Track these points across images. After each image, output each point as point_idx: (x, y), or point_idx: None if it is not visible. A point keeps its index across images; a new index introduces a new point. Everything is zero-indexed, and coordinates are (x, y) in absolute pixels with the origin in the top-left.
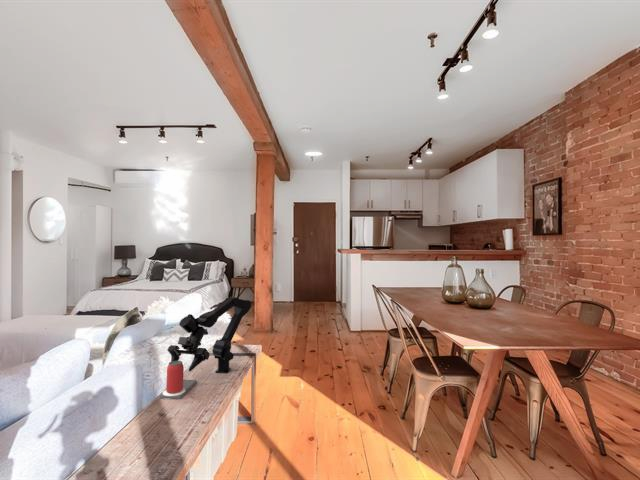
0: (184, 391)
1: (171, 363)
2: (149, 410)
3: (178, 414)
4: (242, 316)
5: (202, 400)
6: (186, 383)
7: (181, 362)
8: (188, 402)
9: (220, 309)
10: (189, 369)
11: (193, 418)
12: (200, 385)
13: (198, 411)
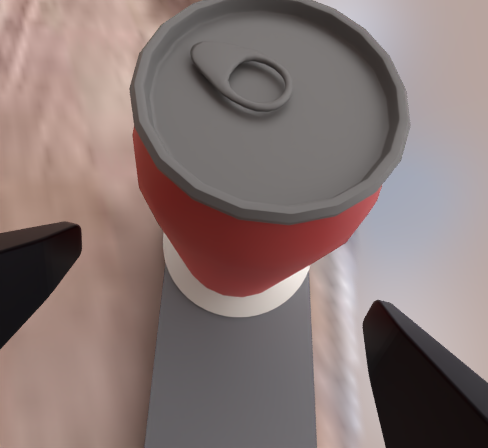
0: (164, 234)
1: (351, 99)
2: None
3: (130, 39)
4: None
5: (32, 169)
6: (206, 418)
7: (166, 147)
8: (113, 146)
9: None
10: (61, 225)
11: (51, 7)
12: (88, 440)
13: (37, 58)
